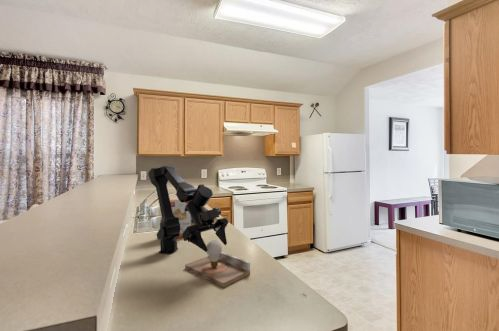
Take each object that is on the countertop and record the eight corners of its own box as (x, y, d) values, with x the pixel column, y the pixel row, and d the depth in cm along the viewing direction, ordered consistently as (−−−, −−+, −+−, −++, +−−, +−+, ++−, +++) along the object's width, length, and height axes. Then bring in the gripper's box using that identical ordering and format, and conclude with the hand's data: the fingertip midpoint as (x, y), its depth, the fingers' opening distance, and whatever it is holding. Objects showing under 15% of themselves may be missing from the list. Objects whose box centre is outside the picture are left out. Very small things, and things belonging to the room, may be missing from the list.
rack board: (185, 268, 99) (184, 257, 99) (211, 258, 109) (211, 248, 109) (223, 287, 84) (223, 274, 84) (250, 274, 94) (250, 262, 94)
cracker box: (164, 240, 133) (163, 200, 132) (162, 237, 138) (161, 198, 137) (191, 236, 139) (190, 198, 139) (188, 233, 145) (187, 196, 144)
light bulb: (204, 266, 97) (203, 239, 97) (219, 263, 100) (218, 237, 100) (209, 272, 92) (208, 244, 92) (224, 268, 95) (224, 241, 94)
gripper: (186, 204, 91) (206, 242, 84) (225, 197, 104) (245, 229, 97) (174, 222, 96) (192, 259, 89) (213, 214, 110) (231, 245, 103)
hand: (216, 247), depth 95 cm, fingers open, 9 cm apart
